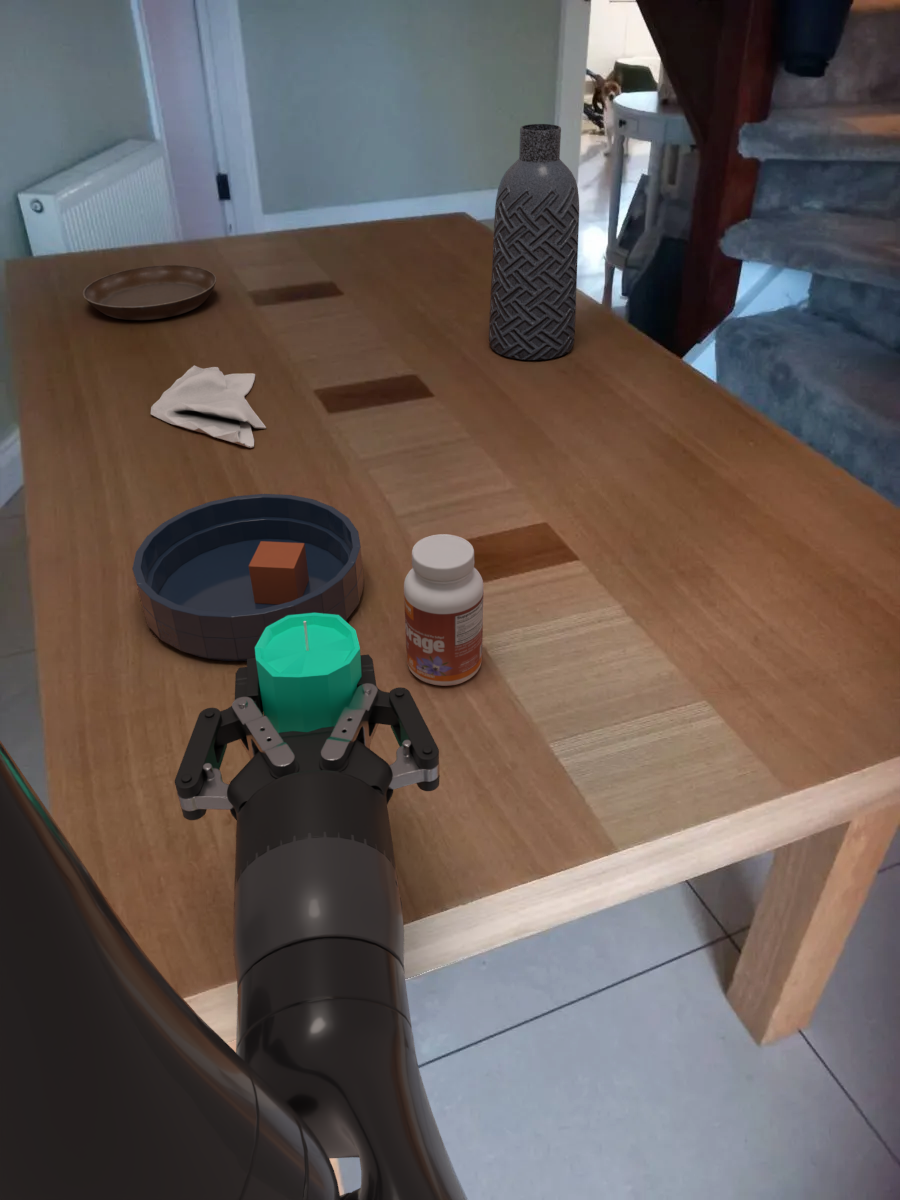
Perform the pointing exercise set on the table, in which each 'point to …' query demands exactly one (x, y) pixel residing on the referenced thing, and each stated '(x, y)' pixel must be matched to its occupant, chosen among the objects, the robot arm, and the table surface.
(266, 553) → the block
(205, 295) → the plant saucer
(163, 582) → the bowl
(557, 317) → the vase
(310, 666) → the candle
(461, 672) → the pill bottle
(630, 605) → the table surface
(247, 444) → the cloth
